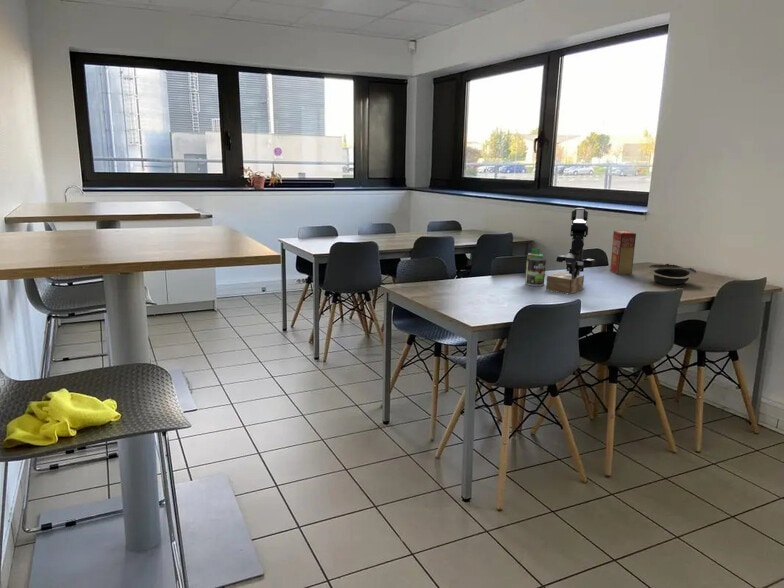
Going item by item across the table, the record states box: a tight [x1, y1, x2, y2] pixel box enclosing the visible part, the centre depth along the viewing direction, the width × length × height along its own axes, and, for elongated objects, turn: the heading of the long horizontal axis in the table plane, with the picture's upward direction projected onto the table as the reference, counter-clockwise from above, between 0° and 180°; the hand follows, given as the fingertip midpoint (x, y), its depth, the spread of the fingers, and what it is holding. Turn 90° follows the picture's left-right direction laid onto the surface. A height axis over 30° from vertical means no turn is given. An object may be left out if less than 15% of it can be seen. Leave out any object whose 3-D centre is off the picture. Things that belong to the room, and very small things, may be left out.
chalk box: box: [525, 247, 544, 267], centre depth 343 cm, size 9×9×15 cm
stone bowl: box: [647, 263, 697, 286], centre depth 321 cm, size 25×25×9 cm
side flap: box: [569, 270, 585, 295], centre depth 296 cm, size 14×1×12 cm, turn 137°
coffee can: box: [524, 257, 547, 287], centre depth 314 cm, size 10×10×14 cm
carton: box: [545, 271, 582, 295], centre depth 302 cm, size 14×13×8 cm
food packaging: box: [609, 230, 637, 275], centre depth 347 cm, size 13×9×25 cm
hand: (574, 277), depth 292 cm, fingers closed
